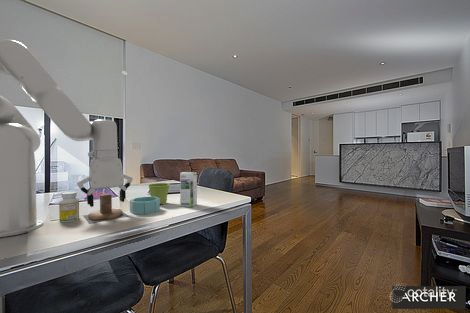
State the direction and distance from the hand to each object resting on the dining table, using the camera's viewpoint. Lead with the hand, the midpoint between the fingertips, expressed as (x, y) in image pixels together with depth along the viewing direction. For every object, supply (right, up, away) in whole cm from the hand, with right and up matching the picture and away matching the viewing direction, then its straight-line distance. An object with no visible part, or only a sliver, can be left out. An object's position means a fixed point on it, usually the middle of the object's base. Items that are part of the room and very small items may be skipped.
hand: (107, 203), depth 79 cm
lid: (0, -4, 0) cm, 4 cm away
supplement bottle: (-11, -5, -4) cm, 12 cm away
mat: (0, -5, 0) cm, 5 cm away
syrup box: (+25, -5, +18) cm, 31 cm away
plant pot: (+11, -5, +21) cm, 24 cm away
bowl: (+11, -5, +7) cm, 14 cm away
